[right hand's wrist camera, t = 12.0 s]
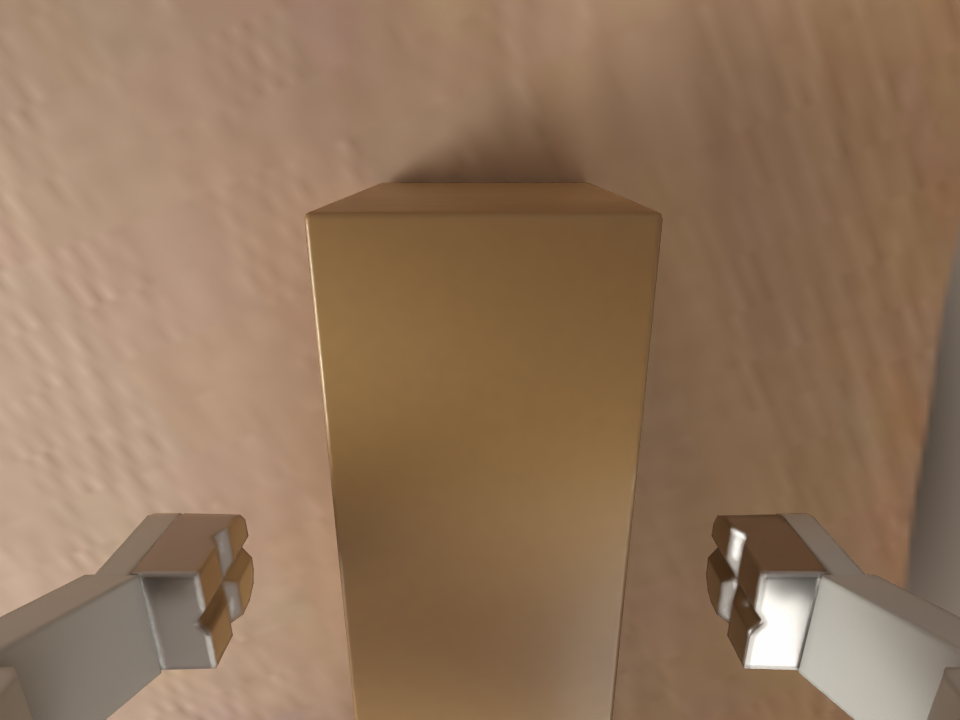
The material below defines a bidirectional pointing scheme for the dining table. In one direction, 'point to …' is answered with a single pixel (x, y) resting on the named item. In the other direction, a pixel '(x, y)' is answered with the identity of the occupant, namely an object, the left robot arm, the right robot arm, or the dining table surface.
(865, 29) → the dining table surface
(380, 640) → the bar
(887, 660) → the right robot arm
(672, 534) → the dining table surface
